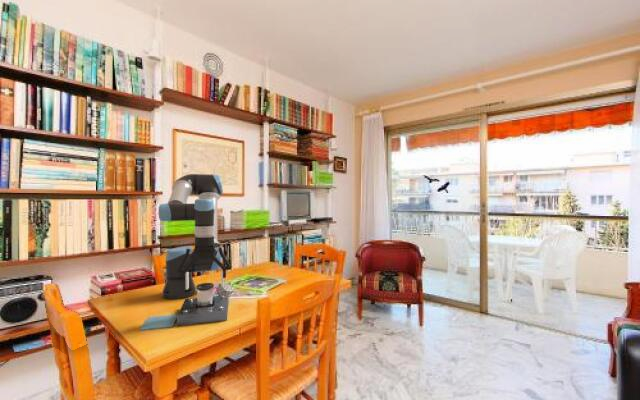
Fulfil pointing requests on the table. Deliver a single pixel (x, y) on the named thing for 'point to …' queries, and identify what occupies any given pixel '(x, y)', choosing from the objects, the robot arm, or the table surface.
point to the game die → (224, 289)
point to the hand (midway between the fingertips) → (204, 287)
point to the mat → (159, 322)
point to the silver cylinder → (205, 295)
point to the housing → (203, 311)
